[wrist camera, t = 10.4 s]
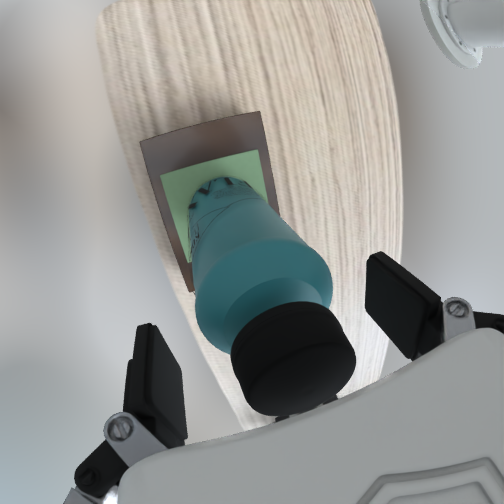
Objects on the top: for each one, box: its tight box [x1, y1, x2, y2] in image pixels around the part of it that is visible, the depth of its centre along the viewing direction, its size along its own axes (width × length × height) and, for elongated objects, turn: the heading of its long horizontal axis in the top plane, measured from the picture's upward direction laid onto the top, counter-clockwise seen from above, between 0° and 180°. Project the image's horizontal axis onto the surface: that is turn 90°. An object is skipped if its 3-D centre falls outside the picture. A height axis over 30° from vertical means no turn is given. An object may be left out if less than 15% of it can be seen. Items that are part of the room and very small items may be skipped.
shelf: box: [140, 111, 280, 292], centre depth 27 cm, size 16×11×4 cm
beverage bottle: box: [187, 175, 356, 416], centre depth 16 cm, size 6×7×20 cm
